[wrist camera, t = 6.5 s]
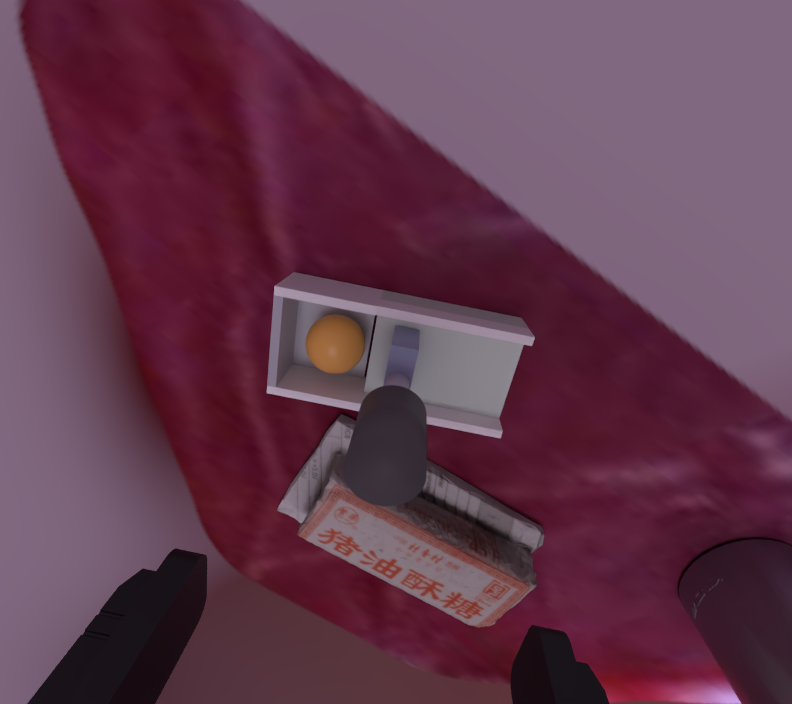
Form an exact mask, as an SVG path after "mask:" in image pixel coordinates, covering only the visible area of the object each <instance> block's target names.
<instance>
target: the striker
mask: <svg viewBox="0 0 792 704" xmlns="http://www.w3.org/2000/svg"><path fill="white" fill-rule="evenodd" d="M419 335H420V330H416V329H411V328H406V327H401V326H396V325H395V330H394V334H393V339H392V344H391V349H390V354H389V359H388V364H387V369H386V374H385V379H384V384H383V386H382V387H379V388H376V389H374V390H373V391H371V392H370V393H369V394H368V395H367V396H366V397H365V398H364V400H363V401H362V404H361V406H360V410H359V413H358V417H357V420H356V423H355V427H354V430H353V434H352V437H351V441H350V444H349V448H348V451H347V454H346V458H345V461H344V465H343V475H344V479H345V481H346V484H347V485H348V487H349V488H350V490H351V491H352V492H353V493H354V494H355V495H356V496H358V497H359V498H360V499H362V500H364V501H366V502H368V503H371V504H374V505H379V506H396V505H401V504H404V503H406V502H408V501H410V500H412V499H413V498H415V497H416V496H417V495H418V494H419V493H420V492H421V490H422V489H423V487H424V485H425V482H426V474H427V413H426V408H425V405H424V403H423V402H422V400H421V399H420V397H419V396H418V395H417V394H416V393H414V392H413V391H411V390H410V387H411V383H412V378H413V374H414V369H415V365H416V360H417V356H418V352H419Z"/></svg>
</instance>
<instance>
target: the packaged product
mask: <svg viewBox="0 0 792 704" xmlns="http://www.w3.org/2000/svg"><path fill="white" fill-rule="evenodd" d="M355 423H356V421H355V420H353V419H352V418H349V417H347V416H345V415H343V414H341V415H340V416H339V417H338V418H337V420H336V421H335V422H334V423H333V424H332V425H331V427H330V428H329V429H328V430H327V432H326V434H325V435H324V437H323V439H322V440H321V442H320V444H319V446H318V447H317V449H316V450H315V451H314V453H313V454H312V455H311V457H310V458H309V459H308V461H307V462H306V463H305V465H304V466H303V467H302V469H301V470H300V472H299V473H298V474H297V476H296V477H295V479H294V480H293V481H292V483H291V484H290V486H289V488H288V490H287V492H286V494H285V496H284V498H283V500H282V502H281V504H280V505H279V507H278V509H277V511H279V512H282V513H285V514H287V515H289V516H291V517H293V518H295V519H296V520H297V521H298V522H300V523H302V524H301V525H300V526H299V530H298V533H297V535H299V536H300V537H302V538H304V539H305V540H307V541H309V542H311V543H313V544H314V545H316V546H319V547H321V548H323V549H324V550H326V551H328V552H330V553H332V554H334V555H336V556H338V557H339V558H341V559H343V560H345V561H347V562H349V563H351V564H354V565H355V566H357V567H359V568H361V569H363V570H365V571H367V572H369V573H370V574H372V575H375V576H376V577H378V578H380V579H382V580H384V581H386V582H388V583H390V584H391V585H394V586H396V587H398V588H400V589H403V590H404V591H406V592H407V593H409V594H411V595H413V596H416V597H417V598H419V599H421V600H423V601H424V602H426V603H428V604H431V605H433V606H435V607H437V608H438V609H440V610H442V611H444V612H446V613H447V614H449V615H452V616H453V617H455V618H457V619H459V620H461V621H462V622H464V623H467V624H468V625H472V626H475V627H478V628H479V627H484V626H491V625H493V624H495V622H496V620H497V619H498V618H500V617H502V615H503V614H504V613H505V612H506V611H508V610H509V609H510V608H512V607H514V606H515V605H516V604H517V603H519V602H520V601H521V600H522V599H523V598H524V597H525V596H526V595H527V594H528V593H529V592H530V591H532V590H533V589H534V588H535V587H536V586H537V581H536V573H535V572H534V571H533V558H532V555H531V554H532V552H534V551H535V550H536V549H537V548H538V547H540V546H542V545H543V540H544V532H543V529H542V527H541V526H540V525H538V524H536V523H534V522H533V521H531V520H529V519H527V518H526V517H524V516H522V515H520V514H518V513H517V512H515V511H513V510H511V509H509V508H508V507H506V506H505V505H503V504H501V503H500V502H498V501H497V500H495V499H493V498H492V497H490V496H489V495H487V494H485V493H484V492H482V491H481V490H479V489H477V488H475V487H474V486H472V485H470V484H468V483H467V482H465V481H463V480H462V479H460V478H458V477H457V476H455V475H453V474H451V473H450V472H448V471H446V470H445V469H443V468H442V467H440V466H438V465H436V464H434V463H433V462H431V461H429V460H427V474H426V482H425V485H424V487H423V489H422V490H421V492H420V493H419V494H418V495H417V496H416V497H415V498H413V499H412V500H410V501H408V502H406V503H404V504H401V505H396V506H379V505H374V504H371V503H368V502H366V501H364V500H362V499H360V498H359V497H358V496H356V495H355V494H354V493H353V492H352V491H351V490H350V488H349V487H348V485H347V484H346V481H345V479H344V475H343V465H344V461H345V458H346V454H347V451H348V448H349V444H350V441H351V437H352V434H353V430H354V427H355Z"/></svg>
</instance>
